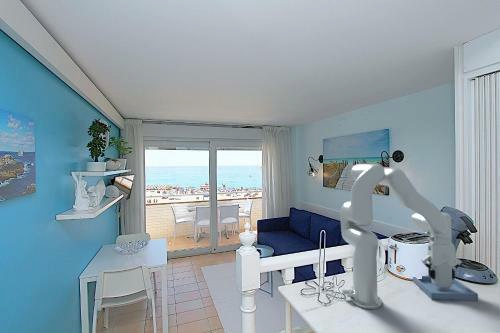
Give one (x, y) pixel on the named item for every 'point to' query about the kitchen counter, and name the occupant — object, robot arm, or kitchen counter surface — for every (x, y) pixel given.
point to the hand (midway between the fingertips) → (441, 277)
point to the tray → (446, 290)
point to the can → (443, 275)
